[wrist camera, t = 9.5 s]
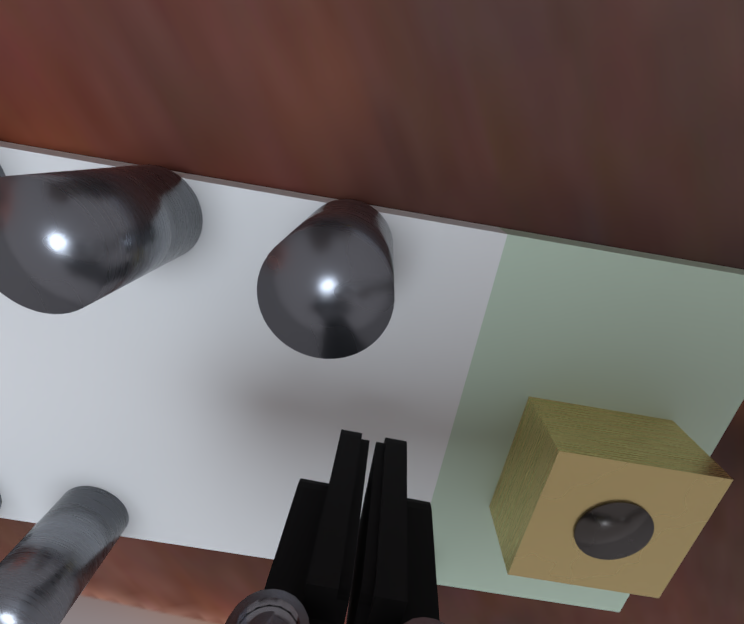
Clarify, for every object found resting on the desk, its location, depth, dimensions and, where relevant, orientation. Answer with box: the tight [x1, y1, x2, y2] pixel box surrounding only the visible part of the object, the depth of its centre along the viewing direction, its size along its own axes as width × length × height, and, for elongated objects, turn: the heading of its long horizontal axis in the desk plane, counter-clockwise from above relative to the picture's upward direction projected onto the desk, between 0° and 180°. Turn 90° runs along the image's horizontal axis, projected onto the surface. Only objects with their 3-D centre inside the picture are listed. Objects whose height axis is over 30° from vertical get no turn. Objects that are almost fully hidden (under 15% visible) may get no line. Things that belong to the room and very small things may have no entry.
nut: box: [489, 396, 733, 598], centre depth 12 cm, size 4×4×2 cm
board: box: [0, 141, 744, 612], centre depth 14 cm, size 26×13×1 cm, turn 81°
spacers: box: [0, 164, 394, 624], centre depth 11 cm, size 17×13×4 cm
